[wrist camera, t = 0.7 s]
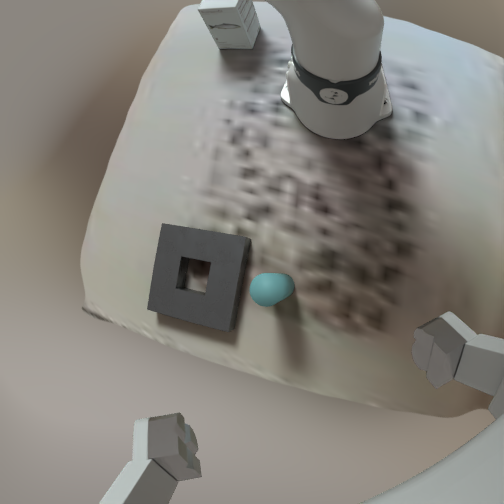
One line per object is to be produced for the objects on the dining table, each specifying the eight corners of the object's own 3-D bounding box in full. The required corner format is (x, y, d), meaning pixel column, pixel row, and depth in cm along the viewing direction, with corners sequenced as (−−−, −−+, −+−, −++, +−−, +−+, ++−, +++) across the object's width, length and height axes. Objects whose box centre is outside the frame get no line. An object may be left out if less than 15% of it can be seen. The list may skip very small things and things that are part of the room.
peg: (272, 271, 46) (253, 270, 34) (296, 276, 46) (285, 276, 33) (268, 295, 46) (246, 302, 34) (291, 300, 46) (279, 309, 33)
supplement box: (218, 50, 52) (195, 9, 40) (228, 26, 52) (209, -14, 40) (253, 50, 50) (235, 7, 38) (262, 26, 50) (247, -17, 38)
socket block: (170, 226, 51) (162, 223, 48) (250, 239, 48) (246, 236, 45) (156, 307, 50) (147, 309, 48) (234, 328, 47) (228, 332, 44)
